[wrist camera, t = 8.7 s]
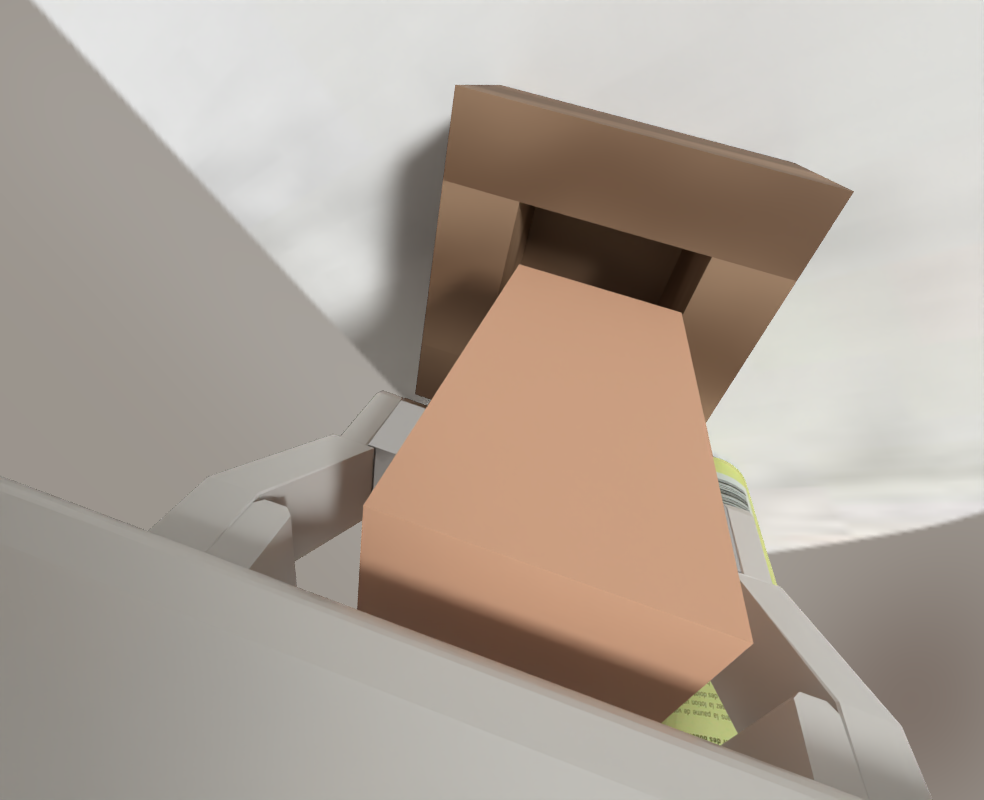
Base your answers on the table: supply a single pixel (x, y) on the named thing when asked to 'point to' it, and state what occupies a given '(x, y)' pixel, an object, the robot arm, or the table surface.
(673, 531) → the peg
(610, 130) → the socket block
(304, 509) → the robot arm
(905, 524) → the table surface
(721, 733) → the tube
